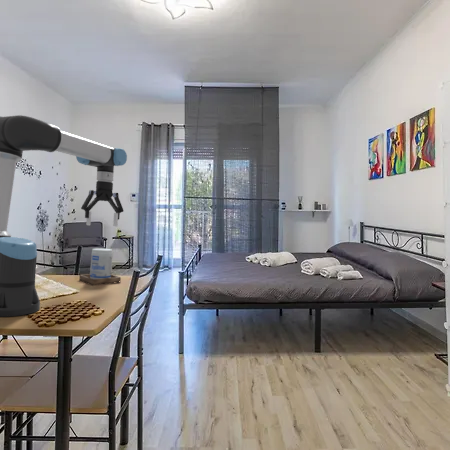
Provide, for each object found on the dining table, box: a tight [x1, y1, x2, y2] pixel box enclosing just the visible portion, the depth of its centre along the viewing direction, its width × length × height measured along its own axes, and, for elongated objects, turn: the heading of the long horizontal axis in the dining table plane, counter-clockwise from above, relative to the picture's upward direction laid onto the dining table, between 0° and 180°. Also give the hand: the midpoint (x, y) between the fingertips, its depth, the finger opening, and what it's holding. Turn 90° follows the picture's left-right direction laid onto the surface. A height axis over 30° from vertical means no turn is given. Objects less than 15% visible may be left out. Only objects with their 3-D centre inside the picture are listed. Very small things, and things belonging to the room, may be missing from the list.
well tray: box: [78, 273, 122, 286], centre depth 169 cm, size 14×14×2 cm
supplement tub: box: [89, 247, 113, 279], centre depth 169 cm, size 10×10×15 cm
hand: (102, 225), depth 168 cm, fingers open, 13 cm apart
